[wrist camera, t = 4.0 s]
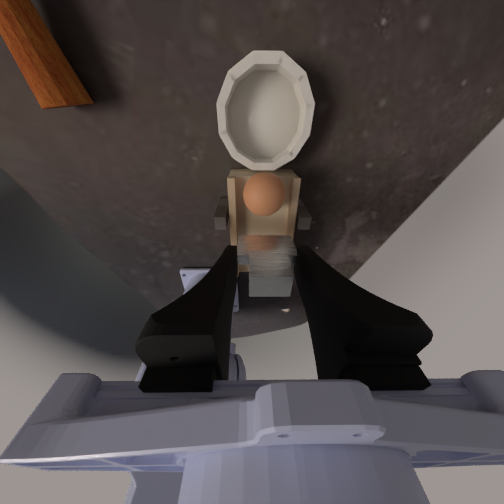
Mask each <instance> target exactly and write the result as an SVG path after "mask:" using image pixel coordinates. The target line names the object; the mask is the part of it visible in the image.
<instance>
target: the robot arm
mask: <svg viewBox="0 0 504 504" xmlns="http://www.w3.org/2000/svg"><path fill="white" fill-rule="evenodd" d="M297 255H298V257H297V262H296V265H294V273H295V279H296V283H297V286H298V289H299V293H300V296H301V299H302V302H303V305H304V308H305V311H306V315H307V319H308V323H309V328H310V333H311V338H312V344H313V349H314V355H315V361H316V367H317V374H318V380H246V371H245V366H244V364H243V360H242V358H241V356H240V355H238V354H235V346H236V345H235V344H234V343H231V332H232V320H233V312H237V311H239V301H238V283H237V281H238V264H237V245H228V246H227V247H226V248H225V250H224V252H223V253H222V255H221V256H220V258H219V259H218V260H217V262H216V263H215V264H214V266H213V267H212V268H183V269H181V270H180V275H181V278H182V282H183V285H184V288H185V291H184V294H183V295H182V296H181V297H179V298H178V299H177V300H175V301H174V302H172V303H170V304H169V305H167V306H166V307H164V308H162V309H160V310H159V311H157V312H155V313H154V314H152V315H151V316H150V318H149V319H148V321H147V322H146V324H145V326H144V327H143V329H142V331H141V333H140V335H139V337H138V339H137V341H136V343H135V351H136V353H137V355H138V356H139V357H140V359H141V360H142V361H143V363H142V366H141V368H140V370H139V372H138V375H137V377H136V379H135V381H101V379H100V378H99V377H98V376H96V375H94V374H90V373H63V374H61V375H60V376H59V377H58V379H57V380H56V381H55V383H54V384H53V385H52V387H51V388H50V389H49V391H48V392H47V393H46V395H45V396H44V398H43V399H42V400H41V402H40V403H39V404H38V406H37V407H36V408H35V410H34V411H33V413H32V414H31V415H30V417H29V418H28V419H27V421H26V422H25V423H24V425H23V426H22V427H21V429H20V430H19V431H18V433H17V434H16V436H15V437H14V438H13V439H12V441H11V442H10V444H9V445H8V446H7V448H6V449H5V450H4V452H3V453H2V454H1V456H0V463H2V464H8V465H14V466H21V467H27V468H34V469H40V470H47V471H73V470H74V471H128V472H129V474H130V475H131V477H132V481H131V484H130V487H129V490H128V493H127V495H126V498H125V501H124V504H430V503H429V500H428V498H427V496H426V494H425V492H424V490H423V487H422V485H421V483H420V481H419V479H418V477H417V475H416V472H415V470H414V468H426V467H446V466H471V465H504V371H501V370H477V371H472V372H469V373H467V374H465V375H463V376H462V377H461V378H460V379H427V377H426V376H425V375H424V373H423V371H422V370H421V368H420V367H419V365H421V364H422V363H421V361H420V359H419V358H418V356H417V354H418V353H419V352H420V351H421V350H422V349H423V348H424V347H426V346H427V345H428V344H429V343H430V341H431V340H432V337H433V333H432V331H431V329H430V328H429V327H428V326H427V325H426V324H425V322H424V321H423V320H422V319H421V318H420V317H419V316H418V314H417V313H414V312H412V311H409V310H407V309H404V308H402V307H400V306H397V305H395V304H392V303H390V302H388V301H386V300H384V299H382V298H380V297H378V296H376V295H374V294H372V293H370V292H368V291H366V290H365V289H363V288H361V287H359V286H358V285H356V284H354V283H353V282H351V281H350V280H348V279H347V278H345V277H344V276H343V275H341V274H340V273H339V272H337V271H336V270H335V269H333V268H332V267H331V266H330V265H328V264H327V263H326V262H325V261H324V260H323V259H322V258H320V257H319V256H318V255H317V254H316V253H315V252H314V251H313V250H312V249H311V248H310V247H308V246H298V249H297ZM184 274H185V275H184Z"/></svg>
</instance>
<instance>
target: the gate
mask: <svg viewBox="0 0 504 504" xmlns="http://www.w3.org/2000/svg"><path fill="white" fill-rule="evenodd" d="M297 257H298V255H297V251H296V248H295V245H294V242H293V239H292V236H291V235H239V238H238V249H237V264H238V265H249V297H290V294H291V289H292V284H293V279H294V275H293V271H292V268H291V265H296V262H297Z"/></svg>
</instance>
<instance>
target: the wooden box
mask: <svg viewBox="0 0 504 504" xmlns="http://www.w3.org/2000/svg"><path fill="white" fill-rule="evenodd" d="M259 172H270V173H273V174H275V175H277V176H278V177H279V178H280V179H281V181H282V182H283V184H284V187H285V192H286V195H285V200H284V203H283V205H282V207H281V208H280V209H279V210H278V211H277V212H275V213H274V214H272V215H269V216H259V215H256V214H254V213H253V212H251V211H250V210H249V209H248V208H247V206H246V204H245V202H244V198H243V191H244V187H245V184H246V182H247V181H248V180H249V178H250V177H252V176H253V175H254V174H256V173H259ZM300 183H301V178H299V177H298V176H297V175H296V174H295V173H294V172H293V170H292V169H276V170H251V169H231V171H230V174H229V176H228V178H227V185H228V197H221V199H220V201H219V204H218V207H217V210H216V213H215V215H214V223H215V229H227V224H228V219H229V220H230V237H231V245H237V249H238V238H239V235H291V236H292V239H293V236H294V228H295V222H296V225H297V227H298V229H299V230H310V225H311V221H312V217H311V215H310V213H309V212H308V210H307V209H306V207H305V205H304V204H303V202H302V200H301V199H300V198H299V191H300ZM239 272H249V265H238V275H239Z"/></svg>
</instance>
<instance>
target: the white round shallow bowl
mask: <svg viewBox="0 0 504 504" xmlns="http://www.w3.org/2000/svg"><path fill="white" fill-rule="evenodd" d="M216 105H217V117H218V129H219V135H220V137H221V139H222V141H223V142H224V144H225V146H226V148H227V149H228V151H229V153H230V155H231V156H232V158H233V159H235V160H236V161H238V162H240V163H241V164H243V165H244V166H246V167H248V168H249V169H251V170H276V169H277V168H279V167H281V166H283V165H284V164H286V163H288V162H289V161H291V160H293V159H295V157H296V156H297V154H298V153H299V151H300V150H301V148H302V146H303V145H304V143H305V142H306V140H307V139H308V137H309V136H310V131H311V125H312V119H313V113H314V107H315V102H314V99H313V95H312V91H311V88H310V84H309V81H308V77H307V74H306V72H305V71H304V70H303V69H302V68H301V67H300V66H299V65H298V64H297V63H296V62H294V61H293V60H292V59H291V58H290V57H289V56H288V55H287V54H286V53H285V52H284V51H252V52H251V53H249V54H248V55H247V56H246V57H245V58H243V59H242V60H241V61H240V62H239V63H237V64H236V65H235V66H234V67H232V68H231V69H230V70H229V72H228V73H227V75H226V78H225V81H224V83H223V86H222V89H221V92H220V94H219V97H218V100H217V103H216Z"/></svg>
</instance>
